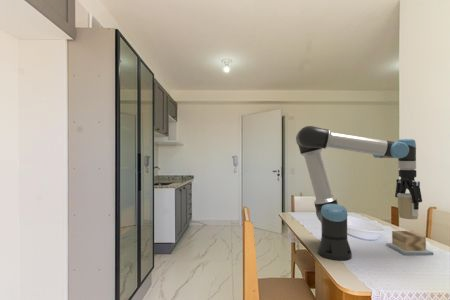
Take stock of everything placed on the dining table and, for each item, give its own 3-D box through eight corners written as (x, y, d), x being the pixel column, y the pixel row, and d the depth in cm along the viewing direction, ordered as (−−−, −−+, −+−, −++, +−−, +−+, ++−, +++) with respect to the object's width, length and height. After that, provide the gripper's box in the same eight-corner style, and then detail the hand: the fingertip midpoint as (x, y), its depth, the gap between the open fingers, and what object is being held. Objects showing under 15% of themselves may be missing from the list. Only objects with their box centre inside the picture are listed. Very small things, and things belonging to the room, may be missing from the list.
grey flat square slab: (404, 255, 128) (404, 252, 128) (386, 245, 142) (386, 243, 142) (433, 255, 128) (433, 252, 128) (412, 245, 142) (412, 242, 142)
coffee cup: (423, 220, 130) (423, 195, 130) (402, 219, 131) (401, 195, 132) (414, 216, 139) (413, 192, 139) (394, 215, 141) (393, 192, 141)
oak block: (405, 251, 130) (405, 236, 130) (392, 244, 140) (392, 230, 140) (425, 250, 130) (425, 236, 130) (410, 244, 140) (410, 230, 140)
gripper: (431, 170, 125) (432, 218, 124) (400, 168, 146) (401, 209, 146) (415, 170, 125) (416, 218, 124) (386, 168, 146) (387, 209, 146)
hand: (408, 213), depth 135 cm, fingers closed on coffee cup, 9 cm apart
